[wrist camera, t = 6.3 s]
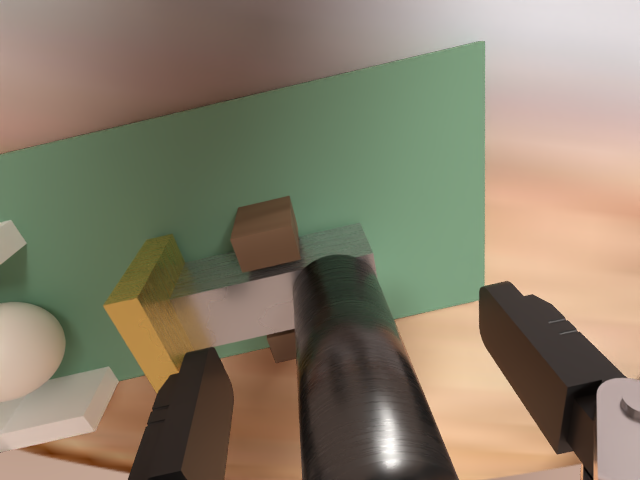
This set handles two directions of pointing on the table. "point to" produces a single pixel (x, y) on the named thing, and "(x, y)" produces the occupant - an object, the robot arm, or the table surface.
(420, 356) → the table surface
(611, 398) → the robot arm
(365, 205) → the pitch
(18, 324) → the ball
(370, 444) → the long multicoloured device
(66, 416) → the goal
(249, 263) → the brown cardboard carton
